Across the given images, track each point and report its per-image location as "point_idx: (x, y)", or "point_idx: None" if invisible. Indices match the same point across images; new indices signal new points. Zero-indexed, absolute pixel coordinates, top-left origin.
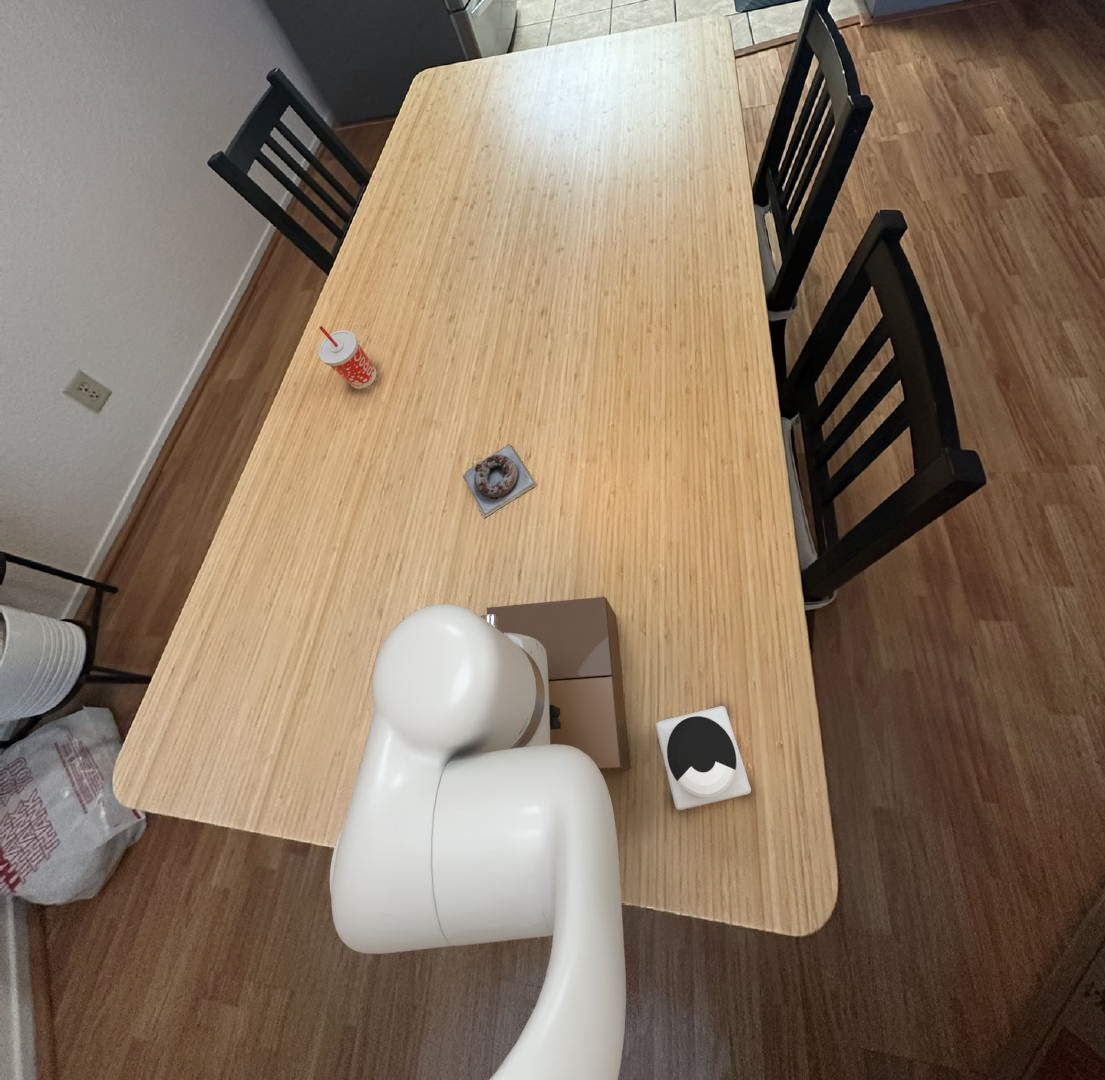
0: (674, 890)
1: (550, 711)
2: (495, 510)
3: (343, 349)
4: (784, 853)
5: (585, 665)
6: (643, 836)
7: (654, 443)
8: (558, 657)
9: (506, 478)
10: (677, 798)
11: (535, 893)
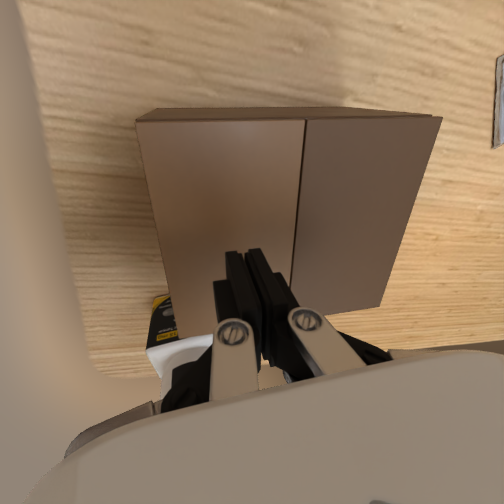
0: (83, 294)
1: (269, 359)
2: (497, 80)
3: None
4: (134, 360)
5: (304, 291)
6: (121, 269)
7: (458, 274)
8: (322, 255)
9: None
10: (156, 353)
11: None
